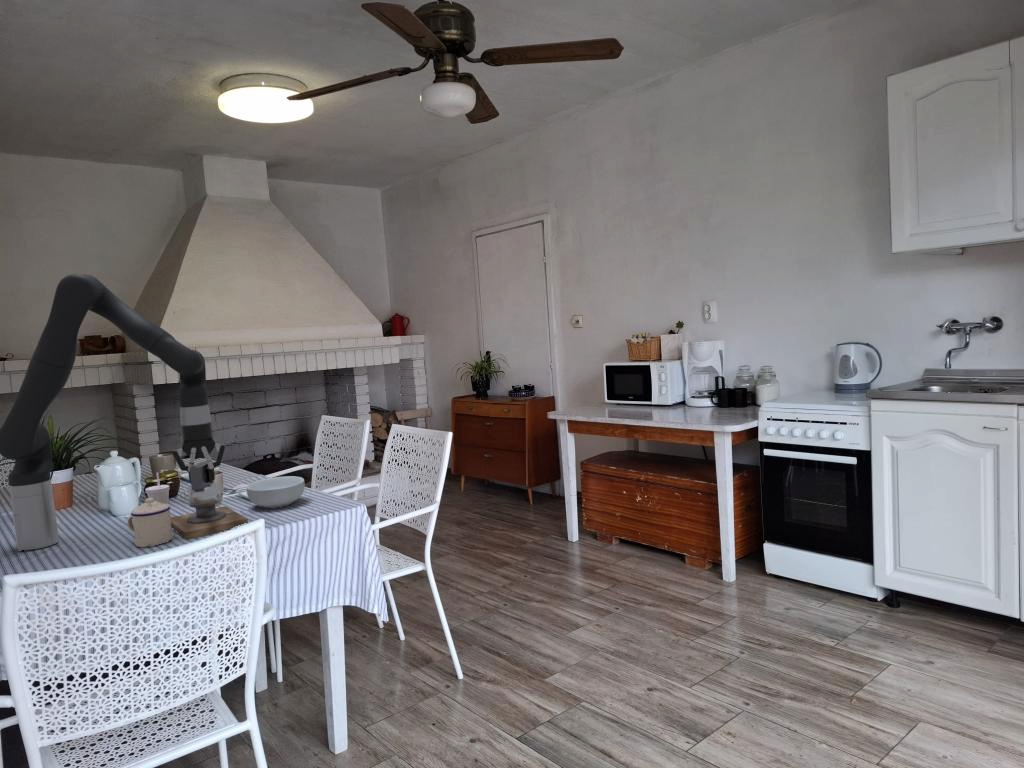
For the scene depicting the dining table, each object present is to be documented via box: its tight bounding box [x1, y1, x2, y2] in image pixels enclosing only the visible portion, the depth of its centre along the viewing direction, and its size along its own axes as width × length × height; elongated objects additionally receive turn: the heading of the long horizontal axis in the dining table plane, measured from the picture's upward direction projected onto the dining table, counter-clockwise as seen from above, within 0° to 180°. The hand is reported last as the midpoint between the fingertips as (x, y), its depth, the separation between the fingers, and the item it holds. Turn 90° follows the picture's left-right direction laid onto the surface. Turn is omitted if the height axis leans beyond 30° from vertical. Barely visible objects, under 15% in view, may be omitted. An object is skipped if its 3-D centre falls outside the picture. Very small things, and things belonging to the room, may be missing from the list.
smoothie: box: [145, 472, 171, 505], centre depth 203 cm, size 6×6×14 cm
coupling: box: [186, 460, 222, 508], centre depth 193 cm, size 10×8×11 cm
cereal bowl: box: [245, 475, 306, 509], centre depth 212 cm, size 17×17×7 cm
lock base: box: [170, 504, 249, 540], centre depth 194 cm, size 16×20×6 cm
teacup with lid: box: [126, 497, 173, 548], centre depth 181 cm, size 12×9×12 cm
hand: (202, 482), depth 193 cm, fingers closed on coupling, 3 cm apart
